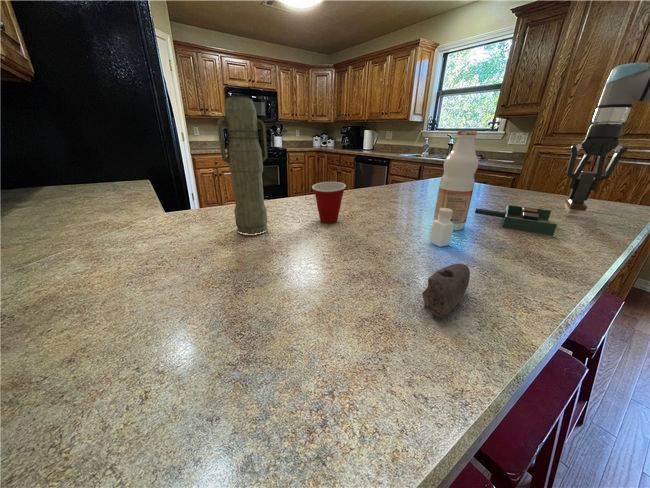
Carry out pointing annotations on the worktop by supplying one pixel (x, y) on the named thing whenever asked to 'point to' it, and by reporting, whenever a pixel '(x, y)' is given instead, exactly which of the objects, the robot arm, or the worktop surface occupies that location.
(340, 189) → the plastic cup
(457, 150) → the fruit juice
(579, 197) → the brush
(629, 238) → the worktop surface
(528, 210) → the crumb block
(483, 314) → the worktop surface
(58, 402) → the worktop surface
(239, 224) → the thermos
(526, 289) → the worktop surface
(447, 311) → the perforated stone tool
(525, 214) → the crumb block
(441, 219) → the pepper shaker
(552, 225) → the dustpan
